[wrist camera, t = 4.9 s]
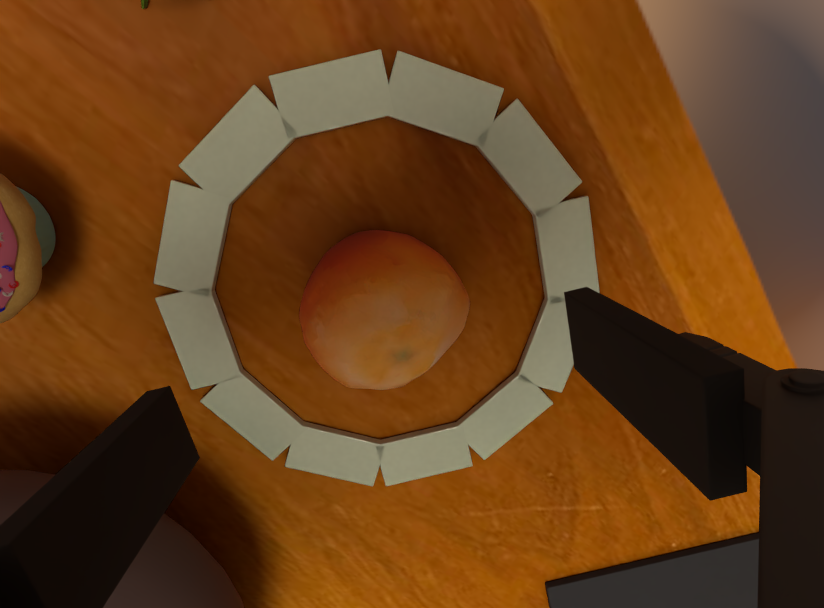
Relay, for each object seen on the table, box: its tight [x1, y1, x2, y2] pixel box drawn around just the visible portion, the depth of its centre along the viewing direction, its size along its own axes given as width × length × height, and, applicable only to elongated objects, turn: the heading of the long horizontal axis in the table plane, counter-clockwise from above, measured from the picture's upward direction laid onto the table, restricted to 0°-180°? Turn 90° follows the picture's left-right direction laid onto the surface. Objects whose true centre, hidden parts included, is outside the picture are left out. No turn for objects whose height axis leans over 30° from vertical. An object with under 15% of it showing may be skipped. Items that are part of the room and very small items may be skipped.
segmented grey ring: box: [153, 49, 600, 486], centre depth 26 cm, size 24×24×1 cm
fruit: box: [299, 230, 470, 390], centre depth 23 cm, size 8×8×8 cm
